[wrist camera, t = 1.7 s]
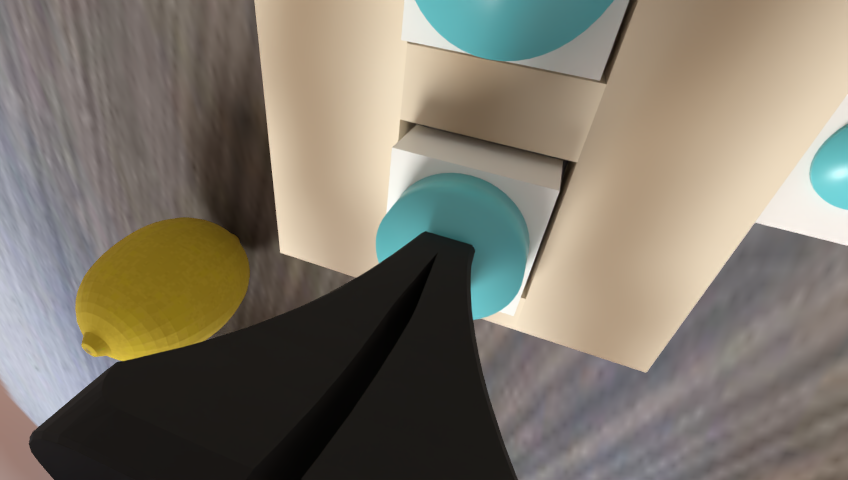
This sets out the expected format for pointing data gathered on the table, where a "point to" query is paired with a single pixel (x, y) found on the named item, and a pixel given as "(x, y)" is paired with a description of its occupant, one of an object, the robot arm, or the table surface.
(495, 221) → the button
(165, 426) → the robot arm
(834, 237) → the card
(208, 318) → the lemon
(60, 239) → the table surface
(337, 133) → the button board
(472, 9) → the button mid
